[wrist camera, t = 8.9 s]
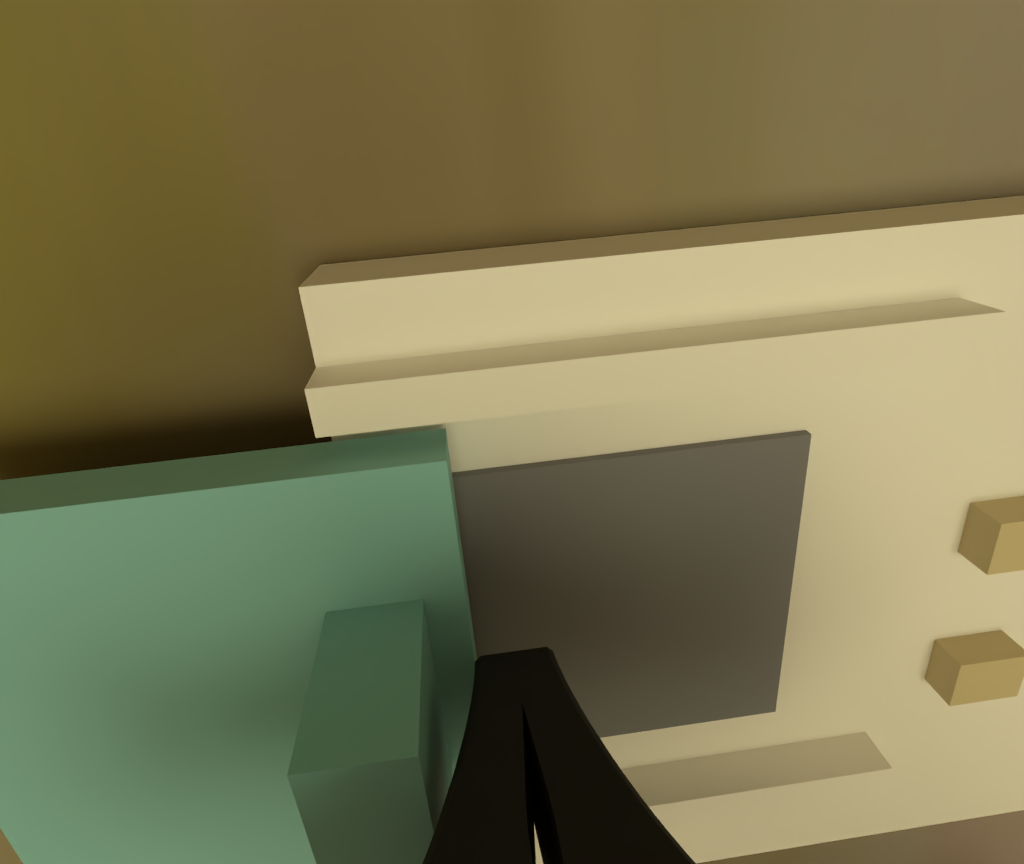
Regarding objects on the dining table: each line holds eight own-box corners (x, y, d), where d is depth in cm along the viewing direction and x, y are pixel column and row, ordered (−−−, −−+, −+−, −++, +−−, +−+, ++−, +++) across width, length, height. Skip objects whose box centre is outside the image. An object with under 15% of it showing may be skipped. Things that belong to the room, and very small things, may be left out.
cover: (494, 788, 14) (514, 1018, 11) (84, 851, 14) (-50, 1118, 10) (445, 428, 11) (450, 586, 7) (-121, 493, 10) (-456, 705, 6)
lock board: (1265, 701, 20) (1396, 789, 17) (434, 830, 18) (434, 950, 16) (1585, 140, 13) (1884, 139, 11) (320, 264, 12) (284, 302, 9)
